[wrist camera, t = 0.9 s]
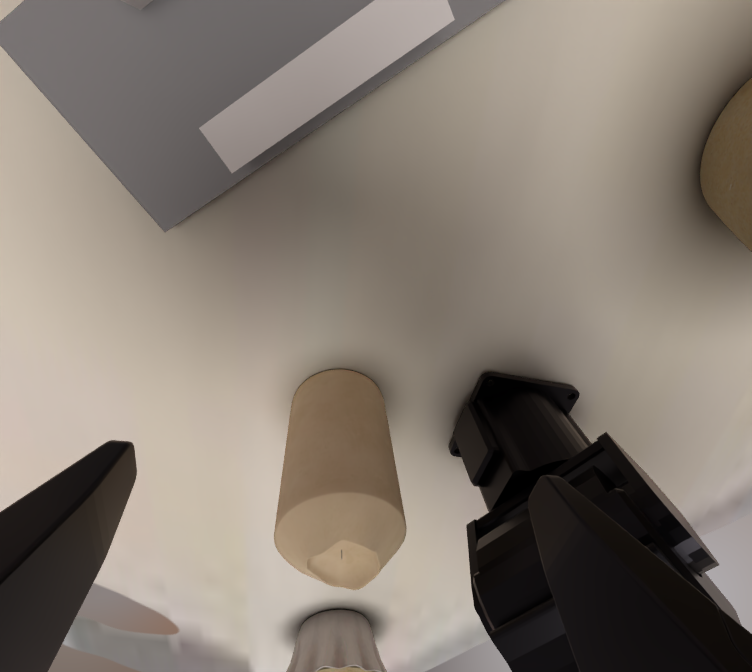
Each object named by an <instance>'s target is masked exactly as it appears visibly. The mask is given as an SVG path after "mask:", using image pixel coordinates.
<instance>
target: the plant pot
mask: <svg viewBox="0 0 752 672" xmlns="http://www.w3.org/2000/svg"><path fill="white" fill-rule="evenodd" d="M700 185H701V189H702V193H703V196H704V198H705V200H706V202H707V204H708V205H709V206H710V208H711V209H712V210H713V211H714V212H715V213H716V214H717V216H718V217H719V218H720V219H721V220H722V221H723V222H724V223H725V225H726V226H727V227H728V228H729V229H730V230H731V231H732V232H733V233H734V234H735V235H736V237H737V238H738V239H739V240H740V241H741V242H742V243H743V244H744V245H745V246H746V247H747V248H748V249H749V250H750V251H751V252H752V78H751V79H749V80H748V81H747V82H746V83H745V84H744V85H743V86H742V87H741V89H740V90H739V91H738V92H737V93H736V94H735V95H734V96H733V98H732V99H731V100H730V101H729V103H728V104H727V106H726V107H725V108H724V110H723V111H722V113H721V114H720V116H719V118H718V119H717V121H716V123H715V125H714V127H713V128H712V130H711V133H710V135H709V138H708V140H707V142H706V145H705V149H704V152H703V156H702V161H701V168H700Z"/></svg>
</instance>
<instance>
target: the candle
mask: <svg viewBox="0 0 752 672" xmlns="http://www.w3.org/2000/svg"><path fill="white" fill-rule="evenodd" d="M405 536H406V522H405V516H404V510H403V505H402V499H401V493H400V488H399V482H398V476H397V471H396V465H395V460H394V454H393V448H392V443H391V437H390V431H389V426H388V420H387V414H386V409H385V404H384V400H383V397H382V394H381V392H380V390H379V388H378V387H377V386H376V384H375V383H374V382H373V381H372V380H371V379H369V378H368V377H366V376H364V375H362V374H360V373H358V372H355V371H351V370H344V369H335V370H328V371H324V372H321V373H318V374H316V375H314V376H312V377H310V378H309V379H307V380H306V381H305V382H304V383H303V384H302V385H301V386H300V387H299V388H298V390H297V392H296V394H295V396H294V398H293V401H292V406H291V412H290V419H289V426H288V434H287V441H286V449H285V456H284V464H283V471H282V479H281V486H280V494H279V501H278V509H277V517H276V524H275V532H274V542H275V545H276V548H277V550H278V552H279V553H280V554H281V556H282V557H283V558H284V559H285V560H286V561H287V562H288V563H289V564H290V565H292V566H293V567H294V568H296V569H297V570H298V571H300V572H302V573H303V574H305V575H308V576H310V577H312V578H315V579H317V580H319V581H322V582H324V583H326V584H328V585H330V586H334V587H344V588H347V589H351V590H358V589H361V588H363V587H364V586H366V585H367V584H368V583H369V582H370V581H371V580H373V579H374V578H375V577H376V576H377V575H378V574H379V572H380V571H381V569H382V568H383V567H384V566H385V565H386V564H387V562H388V561H389V560H390V559H391V558H392V557H393V555H394V554H395V553H396V552H397V550H398V549H399V548H400V546H401V545H402V543H403V541H404V539H405Z"/></svg>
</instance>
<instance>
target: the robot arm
mask: <svg viewBox="0 0 752 672" xmlns="http://www.w3.org/2000/svg"><path fill="white" fill-rule="evenodd" d="M490 379H492V380H491V381H490V382H487V381H488V380H490ZM569 394H570V395H569ZM568 395H569V396H568ZM578 398H579V392H578V391H577V390H576V388H575V387H573V386H568V385H563V384H557V383H551V382H545V381H540V380H534V379H528V378H522V377H517V376H511V375H505V374H500V373H494V372H487V373H484V374H483V375H482V376H481V377H480V380H479V382H478V384H477V386H476V388H475V390H474V393H473V395H472V397H471V399H470V401H469V402H468V403H467V404H466V406H465V408H464V410H463V412H462V415H461V417H460V419H459V421H458V423H457V426H456V428H455V430H454V432H453V435H454V436H453V438H452V440H451V443H450V445H449V450H450V453H451V455H453V456H456V457H462V459H463V462H464V464H465V467H466V470H467V473H468V475H469V478H470V481H471V482H472V484H473V485H474V486H479V488H480V490H481V493H482V496H483V498H484V501H485V503H486V506H487V509H488V511H489V513H487V514H486V515H484V516H483V517H481V518H480V519H478V520H473V521H472V522H470V523H469V524H467V537H468V549H469V562H470V574H471V586H472V593H473V600H474V607H475V610H476V612H477V614H478V615H479V617H480V619H481V621H482V623H483V625H484V627H485V629H486V631H487V633H488V635H489V636H490V638H491V640H492V641H493V643H494V644H495V646H496V647H497V649H498V650H499V651H500V653H501V654H502V656H503V657H504V659H505V660H506V662H507V663H508V665H509V667H510V669H511V670H512V672H752V634H751V633H750V632H749V631H747V630H746V629H745V628H744V627H742V626H741V624H740V620H739V618H738V615H737V613H736V611H735V609H734V608H733V606H732V605H731V604H730V602H729V601H728V600H727V599H726V598H725V596H724V595H723V594H722V593H721V592H720V590H719V589H718V588H717V587H716V586H715V584H714V583H713V582H712V581H711V580H710V578H709V577H708V576H707V575H706V573H705V572H706V571H708V570H710V569H712V568H714V567H716V566H718V565H719V563H718V562H717V560H716V559H715V558H714V557H713V555H712V554H711V552H710V551H709V550H708V548H707V547H706V546H705V544H704V543H703V542H702V540H701V539H700V538H699V536H698V535H697V534H696V532H695V531H694V530H693V528H692V527H691V526H690V524H689V523H688V522H687V520H686V519H685V518H684V516H683V515H682V514H681V512H680V511H679V510H678V509H677V508H676V507H675V506H674V504H673V503H672V502H671V501H670V500H669V499H668V498H667V496H666V495H665V494H664V493H663V492H662V491H661V490H660V488H659V487H658V486H657V485H656V484H655V483H654V481H653V480H652V479H651V478H650V477H649V476H648V475H647V474H646V473H645V472H644V471H643V469H642V468H641V467H640V466H639V465H638V464H637V463H636V462H635V461H634V460H633V459H632V458H631V457H630V456H629V455H628V454H627V453H626V452H625V451H624V450H623V449H622V448H621V447H620V446H619V445H618V444H617V443H616V442H615V441H614V440H613V438H612V437H611V436H610V435H609V434H608V433H607V432H606V433H604V434H603V435H601V436H600V437H598V438H597V441H596V442H594V443H593V444H592V443H591V442H590V441H589V440H588V438H587V437H586V436H585V434H584V433H583V432H582V430H581V429H580V428H579V427H578V425H577V424H576V423H575V421H574V420H573V419H572V417H571V416H570V415H569V412H570V411H571V409H572V407H573V406H574V404H575V403H576V401H577V399H578ZM456 448H458V449H456ZM136 475H137V468H136V459H135V450H134V445H133V443H132V442H129V441H116V440H111V441H108V442H106V443H105V444H103V445H101V446H100V447H98V448H97V449H95V450H94V451H92V452H91V453H89V454H88V455H86V456H85V457H83V458H82V459H80V460H79V461H77V462H76V463H74V464H73V465H71V466H70V467H68V468H66V469H65V470H63V471H62V472H60V473H59V474H57V475H56V476H54V477H53V478H51V479H50V480H48V481H47V482H45V483H44V484H42V485H41V486H39V487H38V488H36V489H35V490H33V491H32V492H30V493H28V494H27V495H25V496H24V497H22V498H21V499H19V500H18V501H16V502H15V503H13V504H12V505H10V506H9V507H7V508H6V509H4V510H3V511H1V512H0V672H48V670H49V668H50V666H51V664H52V662H53V660H54V658H55V656H56V654H57V653H58V651H59V649H60V647H61V645H62V643H63V641H64V639H65V637H66V635H67V633H68V631H69V629H70V627H71V625H72V623H73V621H74V619H75V617H76V615H77V613H78V611H79V609H80V608H81V605H82V604H83V602H84V600H85V598H86V596H87V594H88V592H89V590H90V588H91V586H92V584H93V582H94V580H95V578H96V576H97V574H98V572H99V570H100V568H101V566H102V564H103V562H104V560H105V558H106V555H107V553H108V550H109V548H110V545H111V543H112V540H113V538H114V535H115V532H116V530H117V527H118V525H119V522H120V519H121V517H122V514H123V512H124V509H125V506H126V504H127V501H128V499H129V496H130V493H131V491H132V488H133V486H134V483H135V480H136Z"/></svg>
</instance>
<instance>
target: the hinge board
mask: <svg viewBox="0 0 752 672" xmlns="http://www.w3.org/2000/svg"><path fill="white" fill-rule="evenodd" d="M503 1H505V0H24V1H23V2H22V3H21V4H20V5H19V6H17V7H16V8H15V9H14V10H13V11H12V12H11V13H10V14H8V15H7V16H6V17H5V18H4V19H3V20H2V21H1V22H0V46H1V47H2V48H3V49H4V50H5V51H6V52H7V54H8V55H9V56H10V57H11V58H12V59H13V60H14V61H15V63H16V64H17V65H18V66H19V67H20V68H21V69H22V71H23V72H24V73H25V74H26V75H27V76H28V77H29V79H30V80H31V81H32V82H33V83H34V84H35V85H36V86H37V88H38V89H39V90H40V91H41V92H42V93H43V94H44V96H45V97H46V98H47V99H48V100H49V101H50V102H51V104H52V105H53V106H54V107H55V108H56V109H57V110H58V111H59V113H60V114H61V115H62V116H63V117H64V118H65V119H66V121H67V122H68V123H69V124H70V125H71V126H72V127H73V129H74V130H75V131H76V132H77V133H78V134H79V135H80V136H81V138H82V139H83V140H84V141H85V142H86V143H87V144H88V146H89V147H90V148H91V149H92V150H93V151H94V152H95V153H96V155H97V156H98V157H99V158H100V159H101V160H102V161H103V163H104V164H105V165H106V166H107V167H108V168H109V169H110V171H111V172H112V173H113V174H114V175H115V176H116V177H117V178H118V180H119V181H120V182H121V183H122V184H123V185H124V186H125V188H126V189H127V190H128V191H129V192H130V193H131V194H132V196H133V197H134V198H135V199H136V200H137V201H138V202H139V203H140V205H141V206H142V207H143V208H144V209H145V210H146V211H147V213H148V214H149V215H150V216H151V217H152V218H153V219H154V221H155V222H156V223H157V224H158V225H159V226H160V227H161V228H162V230H163V231H164V232H166V231H168V230H169V229H171V228H172V227H174V226H175V225H176V224H178V223H179V222H181V221H182V220H184V219H185V218H187V217H188V216H190V215H191V214H193V213H194V212H196V211H197V210H198V209H200V208H201V207H203V206H204V205H206V204H207V203H209V202H210V201H212V200H213V199H215V198H216V197H218V196H219V195H220V194H222V193H223V192H225V191H226V190H228V189H229V188H231V187H232V186H234V185H235V184H237V183H238V182H239V181H241V180H242V179H244V178H245V177H247V176H248V175H250V174H251V173H253V172H254V171H256V170H257V169H259V168H260V167H261V166H263V165H264V164H266V163H267V162H269V161H270V160H272V159H273V158H275V157H276V156H278V155H279V154H281V153H282V152H283V151H285V150H286V149H288V148H289V147H291V146H292V145H294V144H295V143H297V142H298V141H300V140H301V139H303V138H304V137H305V136H307V135H308V134H310V133H311V132H313V131H314V130H316V129H317V128H319V127H320V126H322V125H323V124H324V123H326V122H327V121H329V120H330V119H332V118H333V117H335V116H336V115H338V114H339V113H341V112H342V111H344V110H345V109H346V108H348V107H349V106H351V105H352V104H354V103H355V102H357V101H358V100H360V99H361V98H363V97H364V96H366V95H367V94H368V93H370V92H371V91H373V90H374V89H376V88H377V87H379V86H380V85H382V84H383V83H385V82H386V81H387V80H389V79H390V78H392V77H393V76H395V75H396V74H398V73H399V72H401V71H402V70H404V69H405V68H407V67H408V66H409V65H411V64H412V63H414V62H415V61H417V60H418V59H420V58H421V57H423V56H424V55H426V54H427V53H429V52H430V51H431V50H433V49H434V48H436V47H437V46H439V45H440V44H442V43H443V42H445V41H446V40H448V39H449V38H451V37H452V36H453V35H455V34H456V33H458V32H459V31H461V30H462V29H464V28H465V27H467V26H468V25H470V24H471V23H472V22H474V21H475V20H477V19H478V18H480V17H481V16H483V15H484V14H486V13H487V12H489V11H490V10H492V9H493V8H494V7H496V6H497V5H499V4H500V3H502V2H503Z"/></svg>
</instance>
